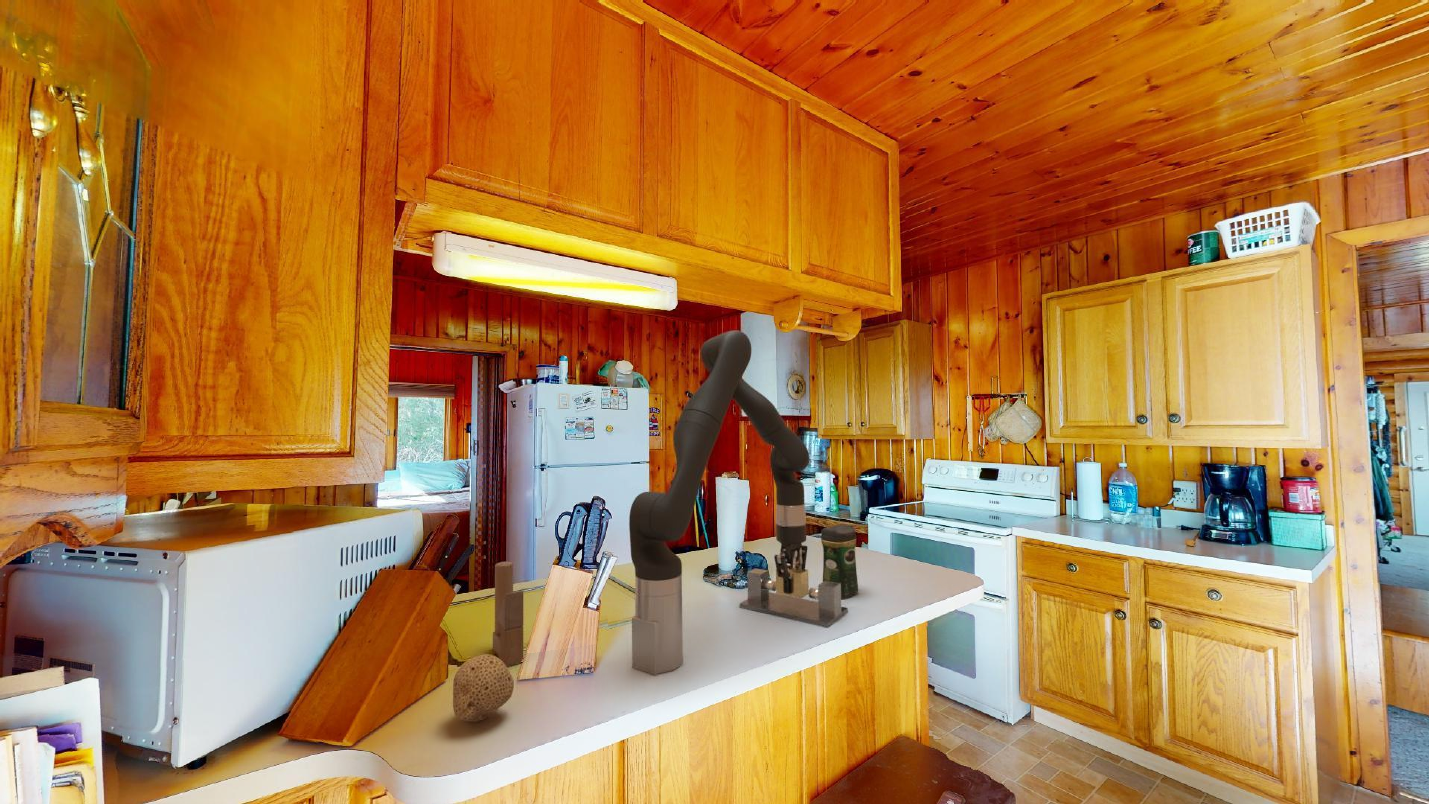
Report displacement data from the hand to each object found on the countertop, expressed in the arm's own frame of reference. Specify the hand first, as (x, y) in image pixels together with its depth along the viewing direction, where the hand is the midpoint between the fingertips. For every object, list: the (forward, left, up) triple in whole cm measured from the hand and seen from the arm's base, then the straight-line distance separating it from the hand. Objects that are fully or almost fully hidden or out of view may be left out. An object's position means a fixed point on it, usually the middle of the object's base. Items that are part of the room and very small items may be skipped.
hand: (792, 590), depth 133 cm
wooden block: (-56, +36, -5) cm, 67 cm away
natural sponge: (-72, +18, -5) cm, 74 cm away
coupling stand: (0, 0, -5) cm, 5 cm away
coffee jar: (+18, -5, -5) cm, 19 cm away
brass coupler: (0, 0, -1) cm, 1 cm away
